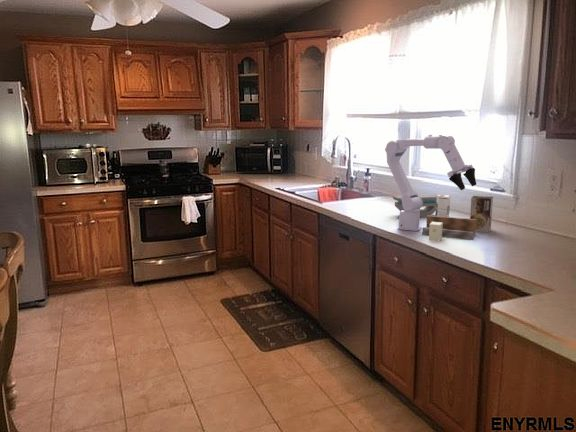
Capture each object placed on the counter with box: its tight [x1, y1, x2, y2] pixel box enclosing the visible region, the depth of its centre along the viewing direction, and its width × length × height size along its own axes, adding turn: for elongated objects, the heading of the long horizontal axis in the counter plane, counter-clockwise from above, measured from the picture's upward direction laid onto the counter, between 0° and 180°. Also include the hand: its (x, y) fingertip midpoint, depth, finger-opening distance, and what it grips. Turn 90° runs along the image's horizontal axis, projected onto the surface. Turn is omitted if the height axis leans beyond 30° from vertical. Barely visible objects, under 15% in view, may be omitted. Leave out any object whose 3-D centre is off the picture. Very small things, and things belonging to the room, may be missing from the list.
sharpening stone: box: [392, 194, 439, 218], centre depth 260 cm, size 25×8×11 cm, turn 98°
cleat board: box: [421, 215, 477, 241], centre depth 218 cm, size 22×12×7 cm, turn 62°
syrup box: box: [434, 194, 452, 217], centre depth 240 cm, size 6×6×14 cm
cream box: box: [428, 222, 443, 241], centre depth 211 cm, size 5×7×7 cm
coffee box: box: [469, 195, 494, 233], centre depth 225 cm, size 9×6×16 cm
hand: (468, 187), depth 207 cm, fingers open, 7 cm apart
